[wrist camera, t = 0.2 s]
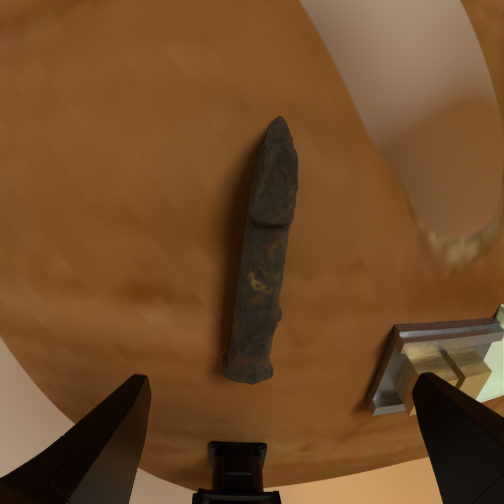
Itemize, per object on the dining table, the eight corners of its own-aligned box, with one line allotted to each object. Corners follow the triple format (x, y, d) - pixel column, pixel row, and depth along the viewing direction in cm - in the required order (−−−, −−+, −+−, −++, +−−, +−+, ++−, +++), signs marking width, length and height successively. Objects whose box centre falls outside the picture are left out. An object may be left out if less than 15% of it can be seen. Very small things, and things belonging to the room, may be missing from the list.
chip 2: (459, 376, 28) (475, 399, 24) (433, 381, 27) (448, 407, 24) (473, 348, 26) (492, 371, 22) (447, 352, 26) (466, 377, 22)
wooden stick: (268, 356, 27) (273, 395, 22) (222, 352, 26) (220, 390, 22) (317, 126, 20) (338, 125, 15) (258, 115, 19) (263, 110, 15)
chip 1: (426, 382, 27) (441, 408, 24) (394, 387, 27) (408, 415, 23) (440, 353, 26) (458, 379, 22) (408, 357, 26) (425, 385, 22)
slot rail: (461, 385, 30) (470, 397, 28) (365, 401, 29) (371, 417, 27) (495, 317, 26) (507, 328, 24) (395, 324, 25) (405, 340, 23)
